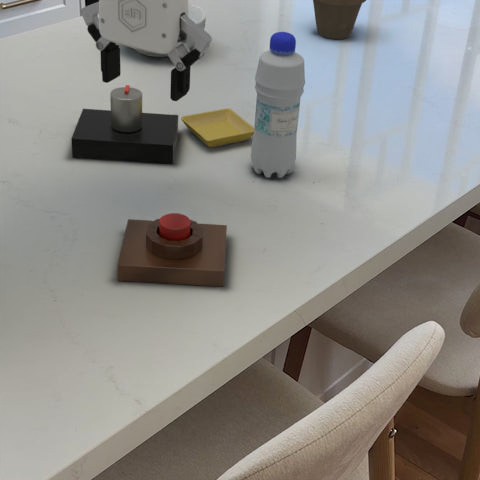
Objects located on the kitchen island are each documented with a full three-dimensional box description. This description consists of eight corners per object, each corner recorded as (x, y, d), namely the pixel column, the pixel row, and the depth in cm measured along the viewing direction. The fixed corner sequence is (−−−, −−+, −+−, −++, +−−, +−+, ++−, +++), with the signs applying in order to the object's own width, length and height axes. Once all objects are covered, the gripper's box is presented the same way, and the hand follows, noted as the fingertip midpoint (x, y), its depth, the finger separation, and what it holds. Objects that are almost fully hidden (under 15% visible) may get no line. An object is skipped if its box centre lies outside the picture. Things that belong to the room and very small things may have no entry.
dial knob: (141, 133, 125) (140, 98, 122) (109, 131, 125) (108, 96, 122) (143, 120, 129) (143, 85, 126) (112, 118, 128) (112, 84, 125)
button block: (117, 280, 101) (117, 251, 98) (128, 234, 109) (127, 206, 107) (223, 286, 101) (225, 257, 99) (225, 240, 110) (227, 212, 107)
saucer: (257, 143, 132) (258, 130, 131) (206, 153, 128) (207, 140, 127) (228, 120, 138) (229, 107, 137) (179, 129, 134) (179, 116, 133)
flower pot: (323, 47, 168) (329, -6, 163) (293, 27, 176) (298, -24, 171) (373, 41, 174) (381, -11, 168) (342, 22, 181) (348, -28, 176)
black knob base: (72, 157, 124) (71, 138, 122) (83, 127, 132) (82, 108, 130) (172, 164, 125) (173, 145, 123) (177, 133, 133) (178, 115, 131)
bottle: (263, 185, 122) (274, 44, 110) (239, 164, 126) (248, 27, 115) (304, 177, 125) (320, 39, 113) (280, 156, 129) (293, 22, 118)
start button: (157, 241, 101) (157, 228, 100) (160, 224, 104) (160, 212, 103) (189, 243, 102) (189, 230, 101) (191, 226, 105) (191, 213, 104)
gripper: (61, -62, 100) (68, 82, 110) (196, -32, 95) (191, 115, 105) (98, -74, 106) (102, 63, 116) (228, -47, 101) (220, 94, 111)
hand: (144, 88), depth 110 cm, fingers open, 9 cm apart
